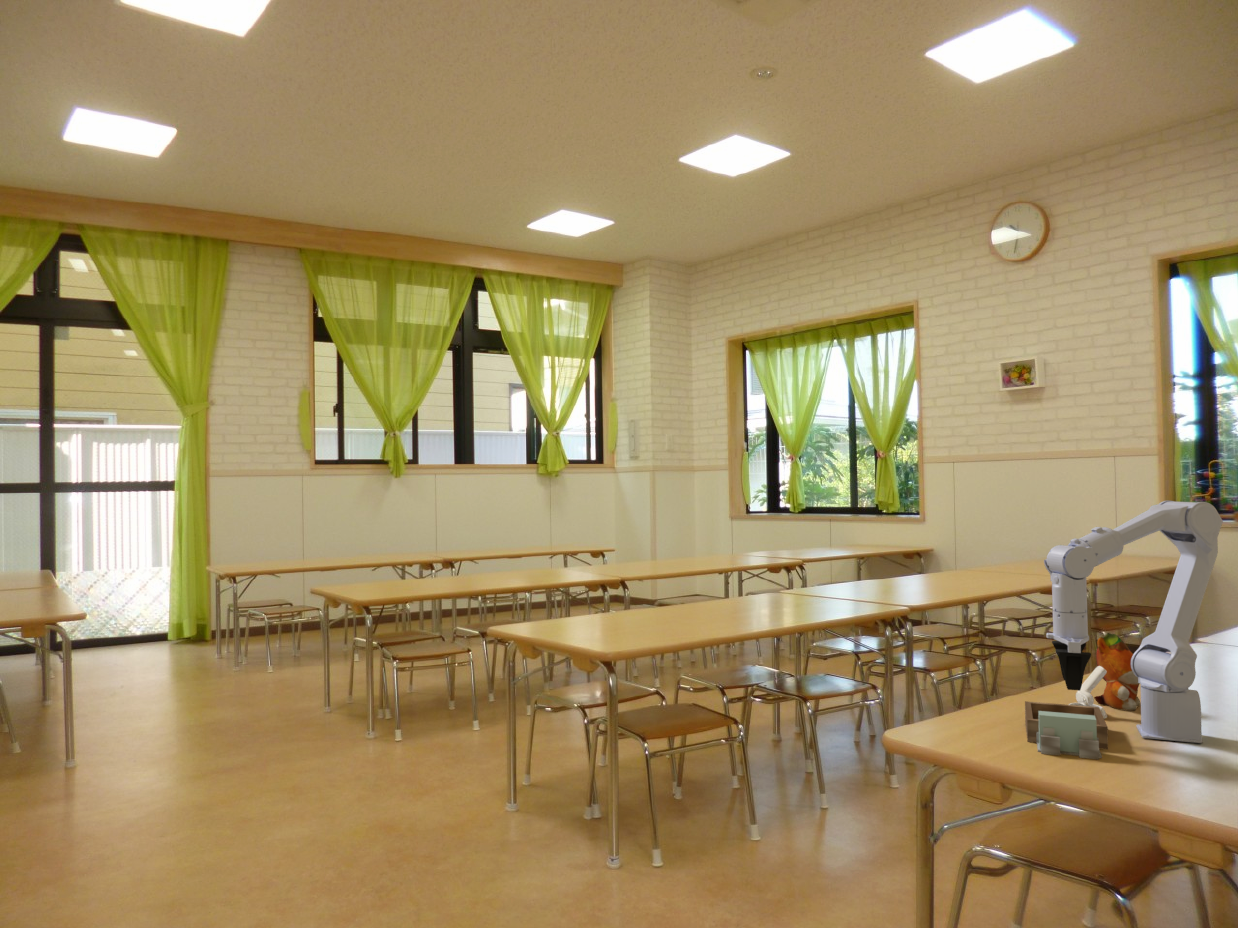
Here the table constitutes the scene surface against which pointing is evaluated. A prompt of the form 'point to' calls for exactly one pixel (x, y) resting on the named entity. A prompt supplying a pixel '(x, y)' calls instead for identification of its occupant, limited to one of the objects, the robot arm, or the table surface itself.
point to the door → (1067, 728)
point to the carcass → (1053, 742)
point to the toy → (1117, 674)
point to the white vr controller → (1084, 693)
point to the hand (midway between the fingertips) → (1071, 684)
